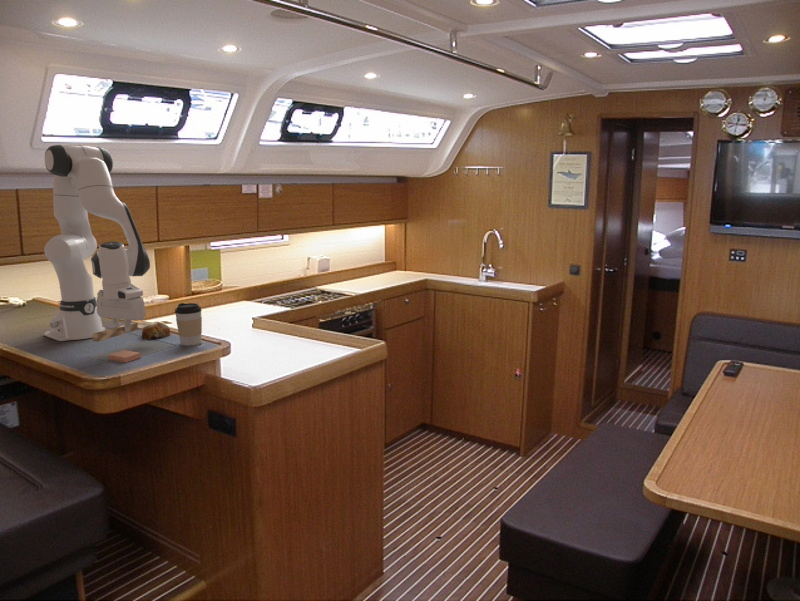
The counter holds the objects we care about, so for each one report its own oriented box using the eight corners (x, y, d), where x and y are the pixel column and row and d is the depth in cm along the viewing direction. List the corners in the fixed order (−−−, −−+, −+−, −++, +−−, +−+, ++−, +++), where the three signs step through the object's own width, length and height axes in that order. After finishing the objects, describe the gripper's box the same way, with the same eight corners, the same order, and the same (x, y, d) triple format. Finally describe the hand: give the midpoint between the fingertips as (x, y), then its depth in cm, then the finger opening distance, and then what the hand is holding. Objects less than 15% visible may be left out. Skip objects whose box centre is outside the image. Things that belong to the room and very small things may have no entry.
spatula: (100, 342, 208) (99, 335, 207) (89, 340, 210) (88, 333, 210) (157, 324, 227) (156, 318, 227) (146, 323, 230) (145, 317, 230)
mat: (87, 360, 214) (87, 357, 213) (144, 343, 233) (144, 340, 233) (119, 366, 206) (119, 363, 206) (176, 348, 226) (176, 345, 225)
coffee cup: (210, 343, 231) (206, 302, 228) (192, 350, 223) (188, 307, 220) (190, 341, 235) (186, 300, 232) (172, 347, 227) (168, 305, 223)
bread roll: (174, 345, 243) (176, 324, 245) (161, 340, 233) (164, 319, 235) (148, 345, 244) (151, 324, 246) (135, 340, 234) (138, 319, 236)
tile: (108, 354, 210) (124, 357, 206) (124, 349, 215) (140, 352, 211) (109, 359, 210) (125, 362, 207) (124, 354, 215) (140, 357, 212)
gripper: (89, 291, 218) (94, 330, 220) (130, 294, 208) (135, 336, 211) (105, 287, 223) (110, 326, 226) (146, 290, 213) (151, 331, 216)
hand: (123, 331), depth 218 cm, fingers closed on spatula, 2 cm apart
